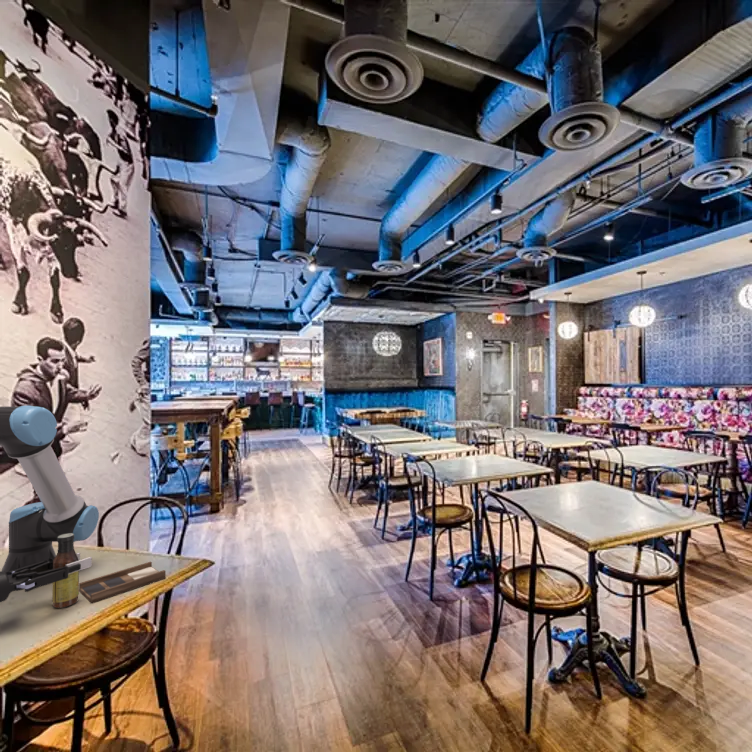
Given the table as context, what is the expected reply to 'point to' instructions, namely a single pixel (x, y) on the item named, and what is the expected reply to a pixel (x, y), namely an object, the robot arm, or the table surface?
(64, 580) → the sauce bottle
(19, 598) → the table surface
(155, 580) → the trap channel board
